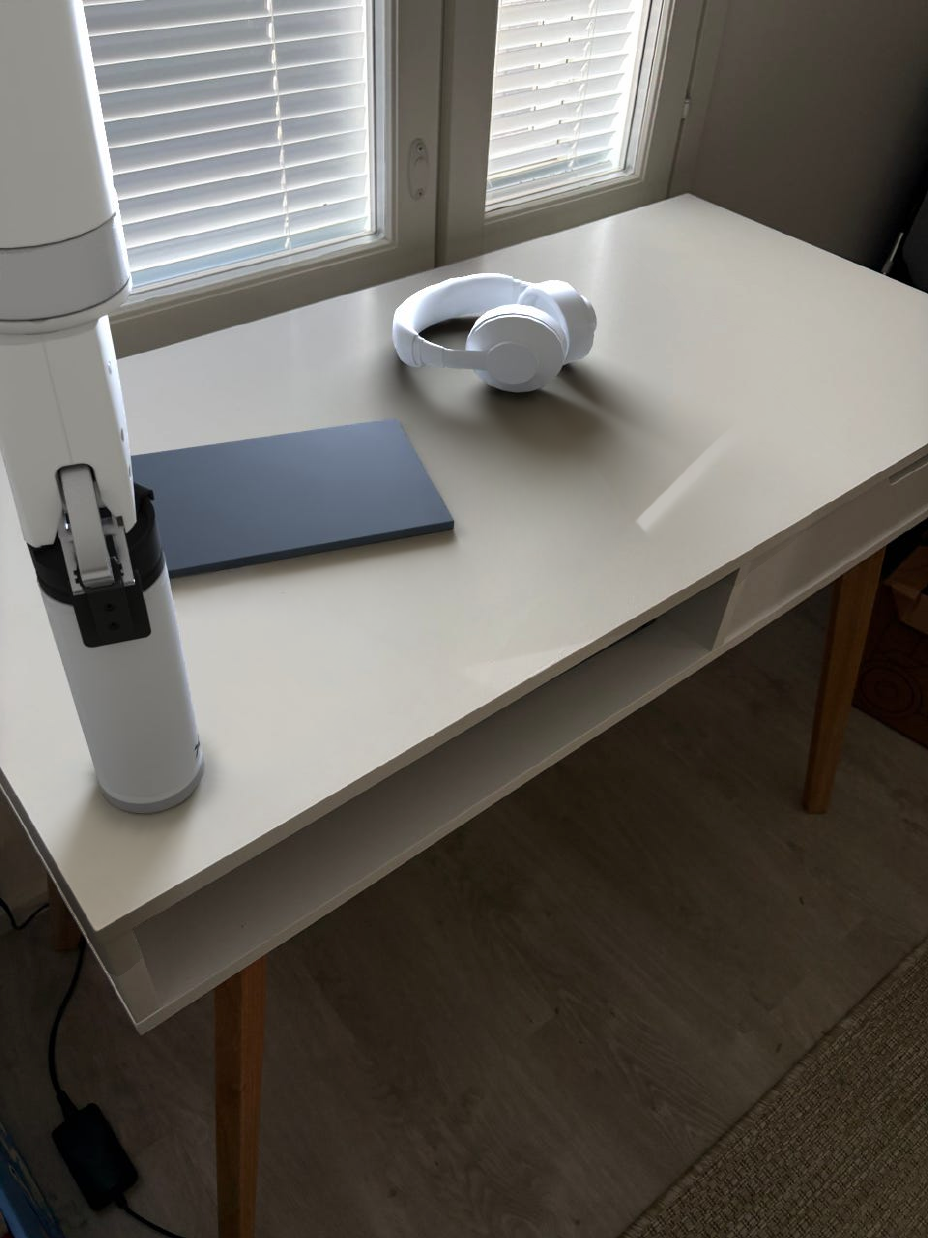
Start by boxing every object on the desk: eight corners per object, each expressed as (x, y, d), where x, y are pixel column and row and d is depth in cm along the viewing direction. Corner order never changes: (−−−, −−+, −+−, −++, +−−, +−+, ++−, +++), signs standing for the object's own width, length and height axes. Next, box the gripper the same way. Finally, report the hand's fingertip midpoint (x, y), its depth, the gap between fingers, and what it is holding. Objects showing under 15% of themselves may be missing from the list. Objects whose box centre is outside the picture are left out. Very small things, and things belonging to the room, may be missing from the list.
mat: (95, 592, 74) (92, 584, 74) (77, 471, 85) (75, 463, 84) (454, 528, 82) (454, 520, 81) (396, 424, 93) (396, 417, 92)
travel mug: (229, 761, 63) (188, 503, 50) (152, 833, 59) (83, 572, 46) (157, 717, 66) (98, 459, 52) (78, 783, 62) (-9, 522, 48)
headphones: (624, 348, 104) (466, 314, 114) (627, 273, 99) (462, 244, 109) (528, 422, 93) (361, 377, 103) (526, 341, 88) (352, 302, 98)
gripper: (-71, 183, 45) (27, 508, 57) (-81, 376, 33) (44, 732, 45) (105, 172, 47) (162, 487, 59) (153, 349, 35) (212, 696, 48)
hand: (110, 591), depth 52 cm, fingers closed on travel mug, 6 cm apart
